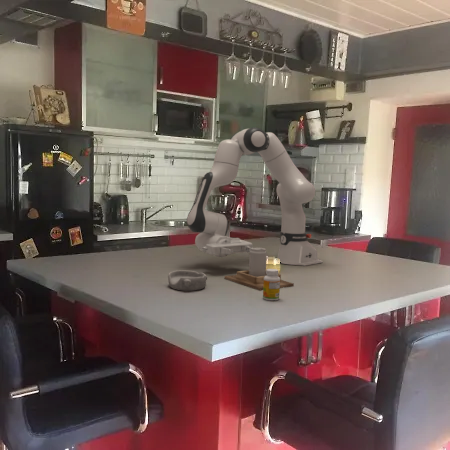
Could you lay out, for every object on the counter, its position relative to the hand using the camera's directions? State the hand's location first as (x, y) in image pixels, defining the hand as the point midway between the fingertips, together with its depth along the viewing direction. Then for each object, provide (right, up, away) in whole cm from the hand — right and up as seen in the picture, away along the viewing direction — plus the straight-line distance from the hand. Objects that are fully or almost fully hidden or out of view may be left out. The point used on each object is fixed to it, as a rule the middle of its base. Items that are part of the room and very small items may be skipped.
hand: (240, 250), depth 202 cm
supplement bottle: (+9, -14, -34) cm, 38 cm away
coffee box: (-9, -3, +69) cm, 69 cm away
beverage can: (+6, -11, -10) cm, 15 cm away
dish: (-20, -12, -21) cm, 31 cm away
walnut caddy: (+6, -11, -9) cm, 16 cm away
